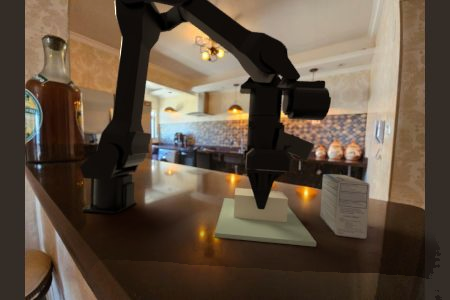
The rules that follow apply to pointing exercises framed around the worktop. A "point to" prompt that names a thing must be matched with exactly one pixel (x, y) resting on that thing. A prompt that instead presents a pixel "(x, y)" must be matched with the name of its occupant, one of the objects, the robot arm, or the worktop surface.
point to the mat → (262, 228)
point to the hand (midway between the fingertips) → (258, 202)
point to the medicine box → (345, 205)
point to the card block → (248, 209)
